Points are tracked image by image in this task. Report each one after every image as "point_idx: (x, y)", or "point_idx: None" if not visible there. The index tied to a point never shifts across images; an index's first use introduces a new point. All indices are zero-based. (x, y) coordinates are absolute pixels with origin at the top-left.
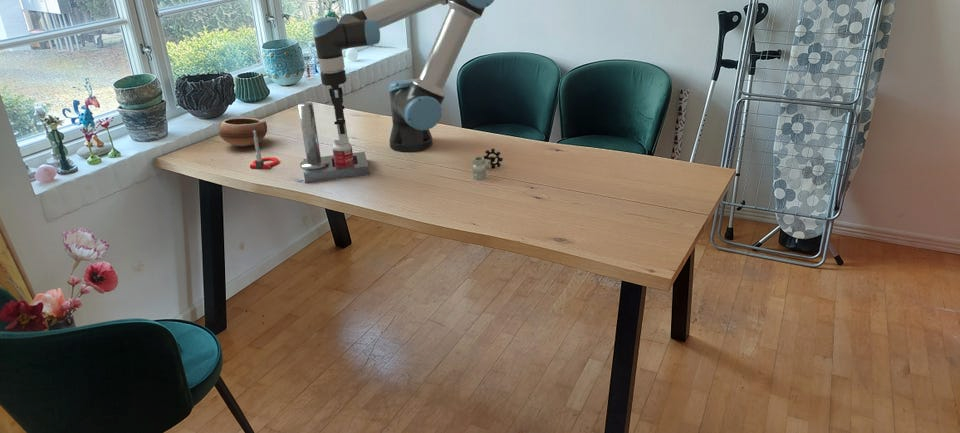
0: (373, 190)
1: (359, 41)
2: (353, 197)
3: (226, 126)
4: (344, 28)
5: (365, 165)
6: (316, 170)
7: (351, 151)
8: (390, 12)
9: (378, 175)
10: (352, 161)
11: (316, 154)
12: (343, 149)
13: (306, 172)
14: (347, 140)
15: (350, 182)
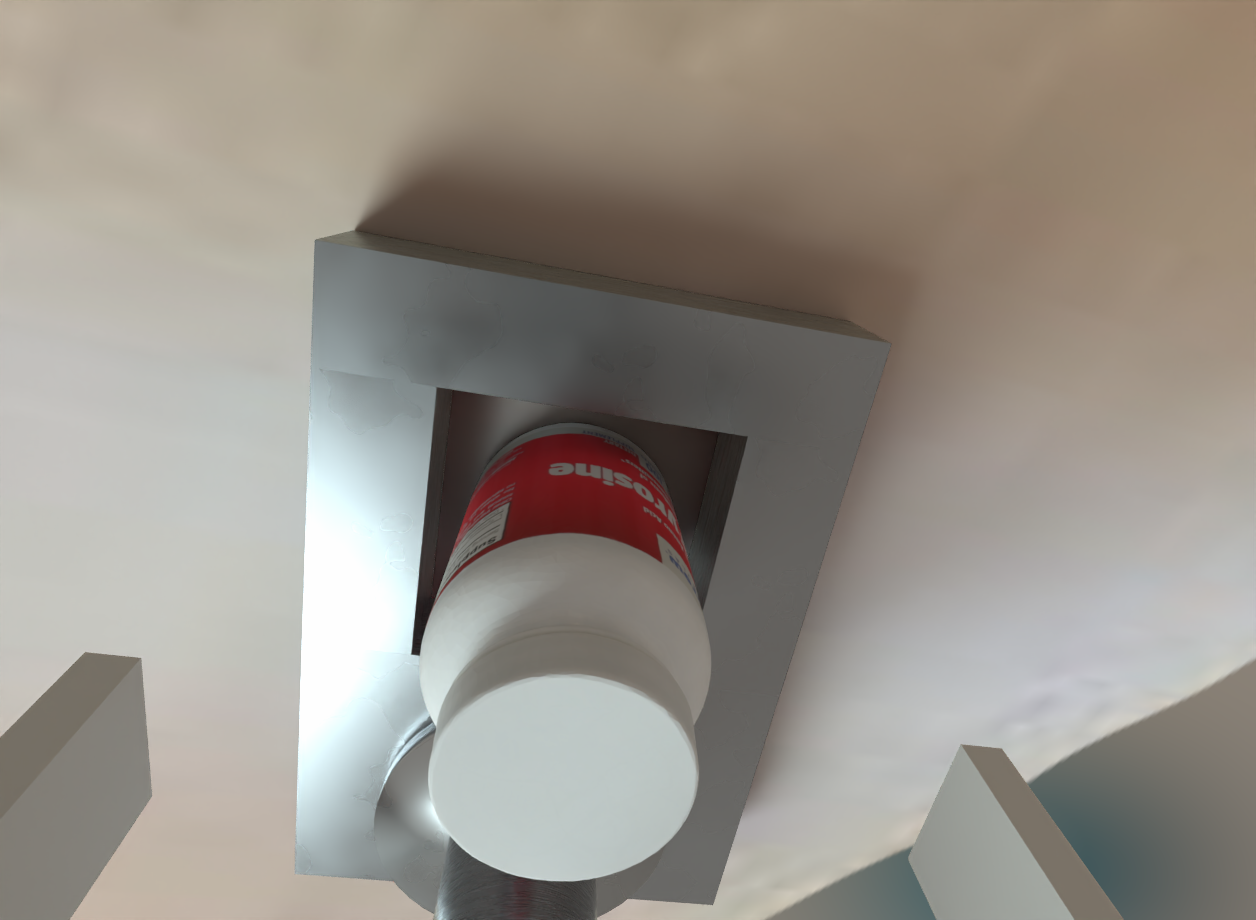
0: (1247, 392)
1: None
2: (1246, 577)
3: None
4: None
5: (850, 369)
6: (690, 816)
7: (651, 535)
8: None
9: (926, 232)
10: (644, 480)
11: (592, 912)
12: (708, 679)
13: (690, 885)
14: (1020, 798)
15: (920, 532)
